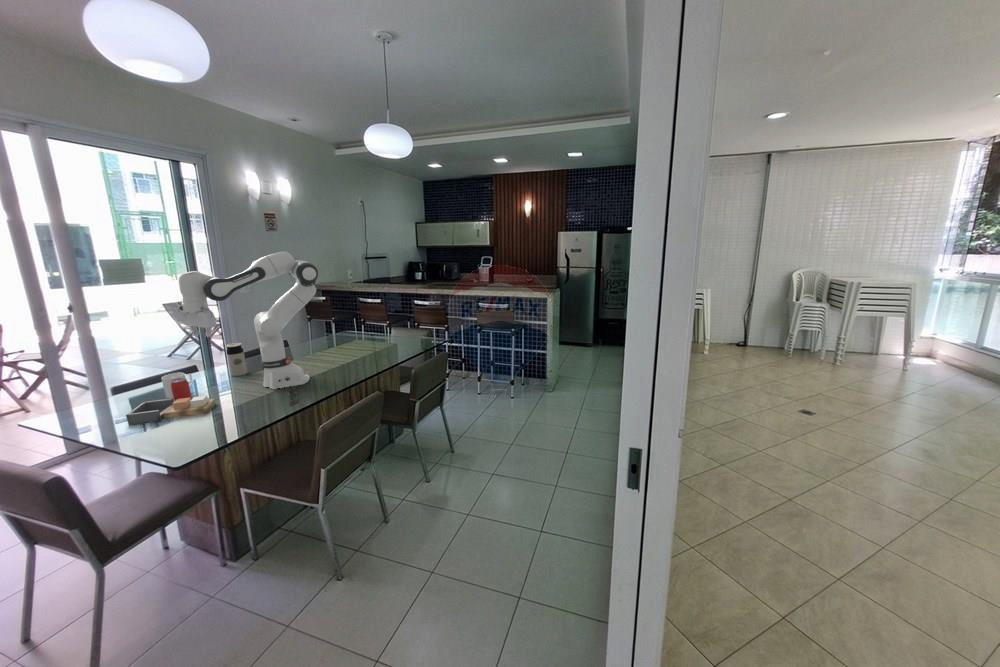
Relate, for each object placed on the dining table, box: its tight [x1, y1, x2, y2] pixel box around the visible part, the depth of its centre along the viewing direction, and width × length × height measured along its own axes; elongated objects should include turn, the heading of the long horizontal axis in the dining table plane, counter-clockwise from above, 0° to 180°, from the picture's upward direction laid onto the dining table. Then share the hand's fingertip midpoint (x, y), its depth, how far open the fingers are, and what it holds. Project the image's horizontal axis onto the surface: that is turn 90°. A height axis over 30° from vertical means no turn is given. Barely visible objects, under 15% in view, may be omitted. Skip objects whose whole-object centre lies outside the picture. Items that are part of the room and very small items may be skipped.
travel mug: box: [225, 342, 248, 377], centre depth 221 cm, size 8×8×18 cm
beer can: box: [171, 377, 193, 402], centre depth 183 cm, size 7×7×12 cm
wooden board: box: [162, 398, 217, 420], centre depth 175 cm, size 16×11×3 cm
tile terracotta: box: [172, 397, 191, 410], centre depth 174 cm, size 5×5×3 cm
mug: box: [161, 372, 193, 400], centre depth 193 cm, size 12×9×11 cm
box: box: [125, 398, 175, 427], centre depth 171 cm, size 11×14×5 cm
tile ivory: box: [190, 395, 209, 407], centre depth 176 cm, size 5×5×3 cm
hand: (202, 335), depth 181 cm, fingers open, 8 cm apart
